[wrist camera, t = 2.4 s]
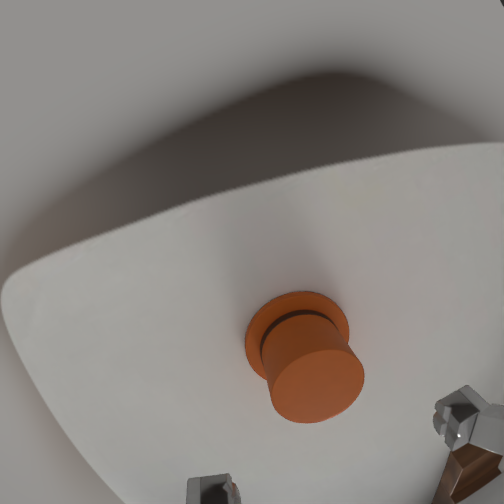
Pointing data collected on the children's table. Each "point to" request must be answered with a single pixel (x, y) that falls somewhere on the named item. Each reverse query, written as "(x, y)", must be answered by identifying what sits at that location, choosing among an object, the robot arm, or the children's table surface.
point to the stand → (466, 473)
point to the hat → (304, 356)
